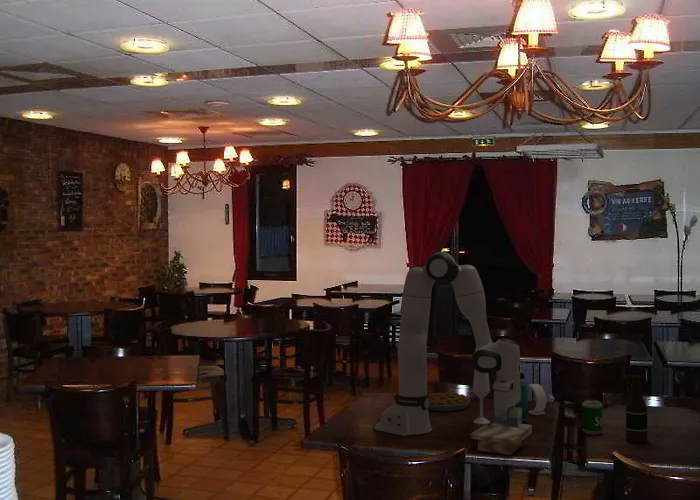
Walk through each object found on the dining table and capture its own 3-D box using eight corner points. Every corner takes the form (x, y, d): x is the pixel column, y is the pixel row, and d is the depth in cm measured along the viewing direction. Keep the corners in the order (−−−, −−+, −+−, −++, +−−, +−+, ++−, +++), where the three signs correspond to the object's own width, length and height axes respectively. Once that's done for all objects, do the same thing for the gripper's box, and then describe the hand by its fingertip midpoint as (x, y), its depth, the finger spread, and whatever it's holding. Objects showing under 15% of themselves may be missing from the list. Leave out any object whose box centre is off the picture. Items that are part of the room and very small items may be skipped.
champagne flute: (470, 422, 318) (470, 363, 317) (476, 419, 324) (475, 361, 323) (487, 424, 315) (486, 364, 314) (492, 420, 321) (491, 362, 320)
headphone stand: (537, 411, 335) (537, 383, 335) (546, 414, 330) (546, 386, 329) (528, 412, 333) (528, 384, 333) (537, 416, 328) (537, 387, 327)
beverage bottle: (528, 424, 314) (528, 374, 313) (511, 424, 315) (511, 374, 314) (528, 420, 320) (527, 371, 319) (511, 420, 322) (511, 371, 321)
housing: (494, 423, 300) (494, 407, 300) (499, 420, 305) (499, 405, 304) (517, 426, 296) (517, 410, 295) (521, 423, 300) (521, 407, 300)
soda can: (589, 436, 296) (589, 404, 296) (578, 431, 303) (578, 400, 303) (606, 434, 298) (606, 403, 298) (595, 429, 305) (595, 398, 305)
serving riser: (470, 451, 279) (470, 434, 279) (486, 439, 293) (486, 423, 293) (514, 457, 271) (513, 439, 271) (528, 445, 285) (528, 429, 285)
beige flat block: (486, 435, 299) (485, 428, 298) (496, 428, 309) (496, 420, 309) (522, 440, 292) (521, 432, 291) (531, 432, 302) (531, 425, 302)
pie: (410, 404, 352) (410, 393, 352) (452, 399, 362) (452, 388, 362) (436, 415, 333) (436, 403, 332) (479, 409, 342) (479, 397, 342)
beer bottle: (629, 436, 295) (629, 372, 294) (650, 440, 290) (650, 375, 289) (622, 441, 289) (621, 376, 288) (643, 444, 284) (643, 378, 283)
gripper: (509, 376, 310) (509, 411, 311) (491, 385, 292) (490, 422, 293) (524, 377, 307) (524, 413, 307) (507, 387, 289) (507, 425, 290)
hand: (508, 418), depth 300 cm, fingers closed on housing, 5 cm apart
